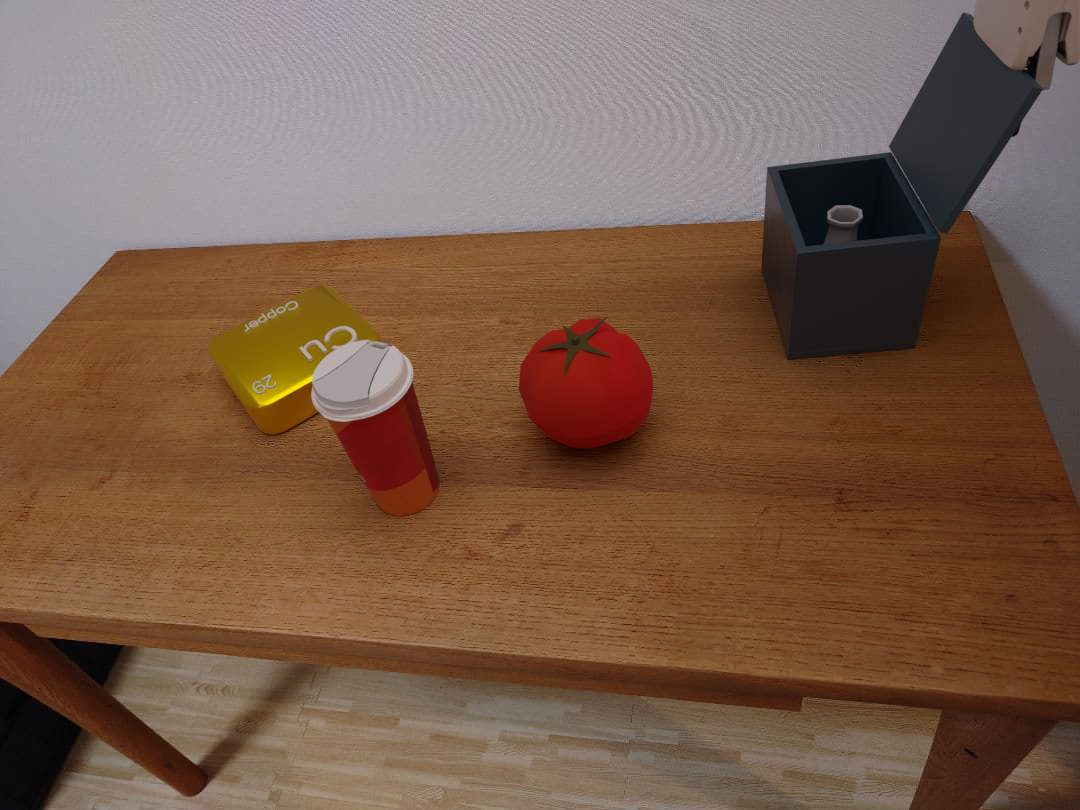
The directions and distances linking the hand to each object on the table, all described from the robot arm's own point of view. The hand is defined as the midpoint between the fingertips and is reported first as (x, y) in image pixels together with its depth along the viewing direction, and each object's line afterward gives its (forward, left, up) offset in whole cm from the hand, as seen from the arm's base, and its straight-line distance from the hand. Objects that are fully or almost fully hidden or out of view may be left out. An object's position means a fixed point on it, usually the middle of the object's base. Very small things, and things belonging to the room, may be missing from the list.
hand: (994, 133), depth 68 cm
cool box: (+12, 0, -17) cm, 21 cm away
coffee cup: (+54, +20, -17) cm, 60 cm away
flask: (+12, 0, -16) cm, 20 cm away
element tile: (+68, +2, -17) cm, 70 cm away
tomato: (+37, +14, -17) cm, 43 cm away
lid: (+4, 0, +2) cm, 4 cm away
